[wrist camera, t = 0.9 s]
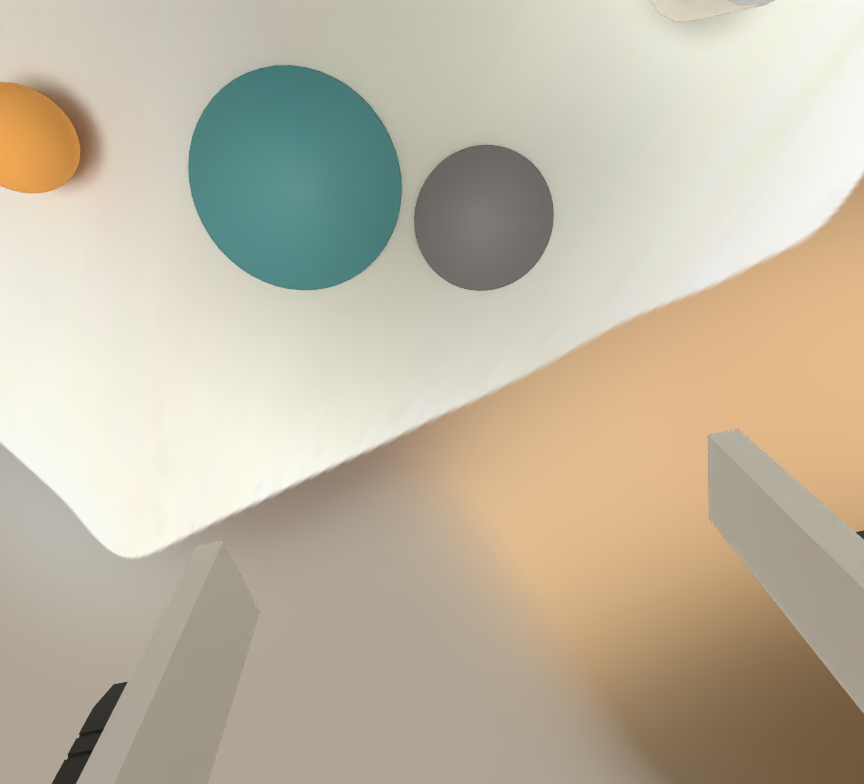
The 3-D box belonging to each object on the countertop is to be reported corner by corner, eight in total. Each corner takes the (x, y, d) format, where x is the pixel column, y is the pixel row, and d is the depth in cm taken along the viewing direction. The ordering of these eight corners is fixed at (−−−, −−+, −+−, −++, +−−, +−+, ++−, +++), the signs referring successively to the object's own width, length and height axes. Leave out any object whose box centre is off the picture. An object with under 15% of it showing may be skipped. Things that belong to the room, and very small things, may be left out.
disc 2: (393, 176, 34) (393, 176, 34) (532, 122, 33) (532, 122, 33) (441, 308, 38) (441, 309, 37) (567, 263, 37) (567, 263, 36)
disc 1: (147, 115, 32) (146, 115, 32) (352, 29, 31) (352, 28, 30) (251, 316, 37) (250, 316, 37) (430, 249, 36) (430, 250, 36)
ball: (-20, 108, 31) (-101, 101, 26) (62, 72, 31) (-4, 58, 26) (39, 202, 34) (-25, 212, 29) (117, 170, 33) (66, 174, 28)
